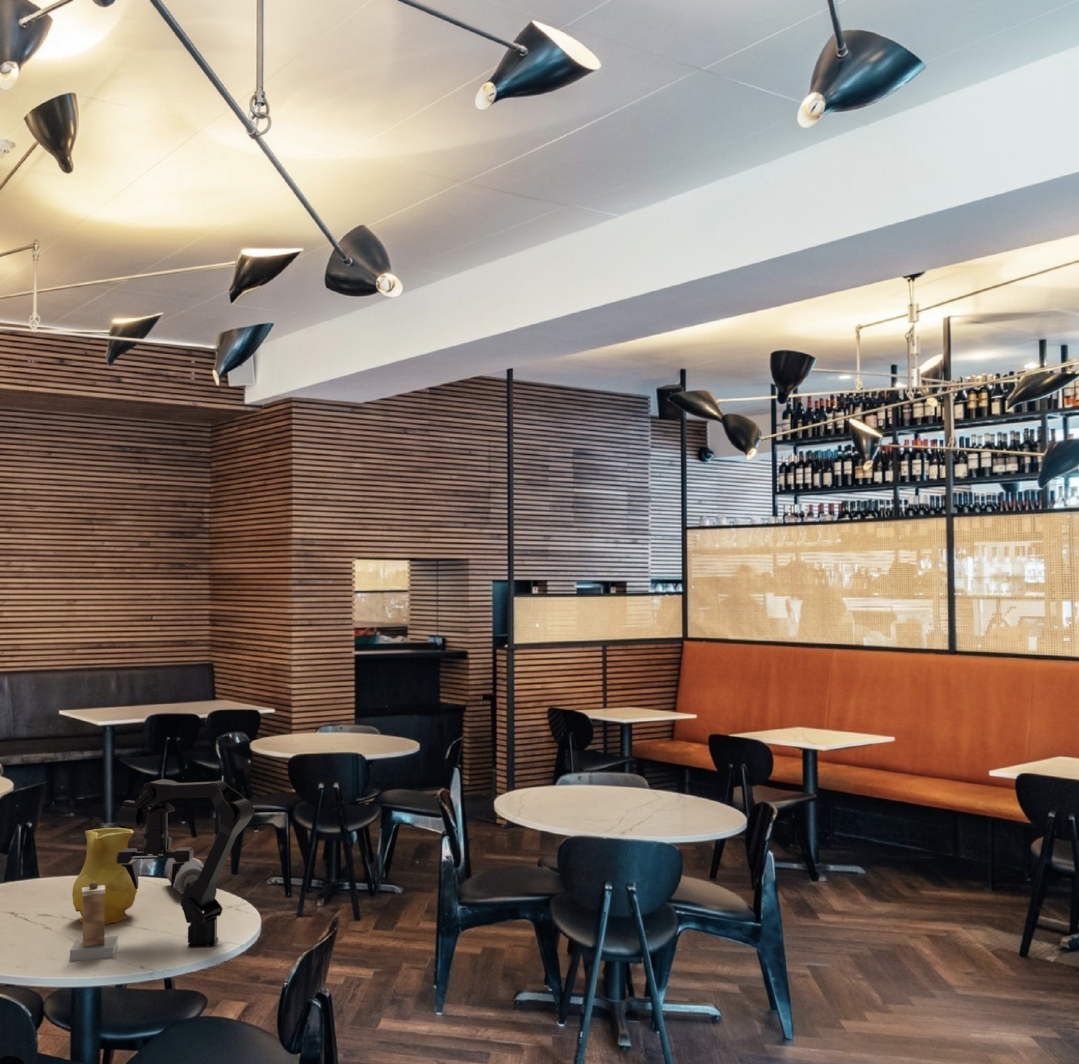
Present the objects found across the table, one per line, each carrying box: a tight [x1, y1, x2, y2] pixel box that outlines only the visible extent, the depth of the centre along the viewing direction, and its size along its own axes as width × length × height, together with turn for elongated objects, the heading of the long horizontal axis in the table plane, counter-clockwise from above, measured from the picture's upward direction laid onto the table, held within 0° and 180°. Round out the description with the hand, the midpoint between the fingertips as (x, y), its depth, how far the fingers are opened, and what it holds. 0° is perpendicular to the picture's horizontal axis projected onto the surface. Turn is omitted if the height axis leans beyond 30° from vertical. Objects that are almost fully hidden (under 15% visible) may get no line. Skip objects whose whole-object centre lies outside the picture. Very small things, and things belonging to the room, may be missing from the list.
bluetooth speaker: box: [164, 858, 202, 896], centre depth 339 cm, size 23×9×10 cm, turn 28°
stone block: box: [69, 935, 119, 962], centre depth 279 cm, size 10×10×3 cm
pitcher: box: [71, 827, 138, 926], centre depth 311 cm, size 17×18×25 cm
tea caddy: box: [82, 882, 105, 947], centre depth 279 cm, size 5×5×15 cm
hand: (154, 888), depth 292 cm, fingers open, 9 cm apart
